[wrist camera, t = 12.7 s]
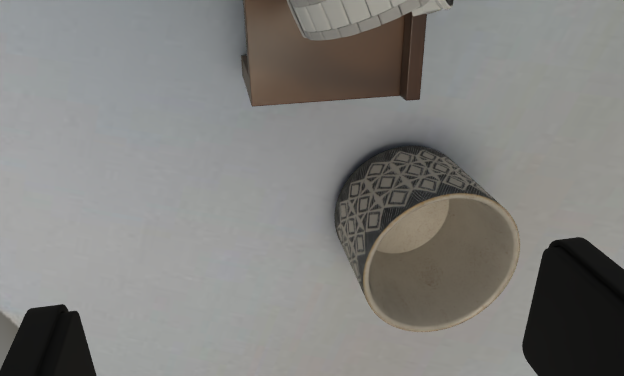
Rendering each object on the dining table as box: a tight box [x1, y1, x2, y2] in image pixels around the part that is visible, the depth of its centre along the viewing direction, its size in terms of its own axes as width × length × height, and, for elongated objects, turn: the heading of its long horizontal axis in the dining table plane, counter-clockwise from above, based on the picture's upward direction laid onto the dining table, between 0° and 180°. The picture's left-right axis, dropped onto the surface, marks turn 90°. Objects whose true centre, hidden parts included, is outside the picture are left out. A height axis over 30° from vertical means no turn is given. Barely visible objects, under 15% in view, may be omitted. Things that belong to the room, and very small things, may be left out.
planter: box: [335, 146, 520, 332], centre depth 44 cm, size 13×13×10 cm
